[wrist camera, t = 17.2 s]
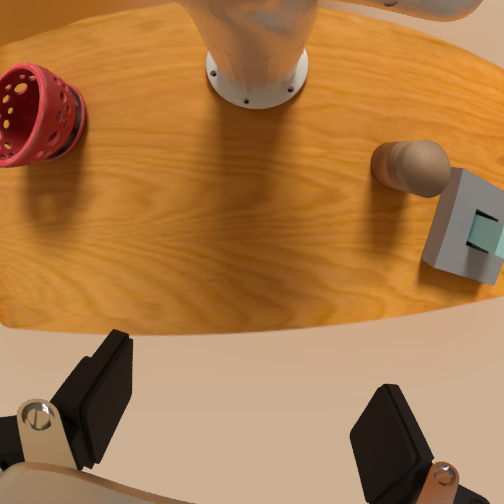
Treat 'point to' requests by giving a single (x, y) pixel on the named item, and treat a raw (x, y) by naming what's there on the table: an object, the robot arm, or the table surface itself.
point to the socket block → (464, 227)
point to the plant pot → (38, 116)
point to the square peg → (487, 235)
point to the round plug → (412, 167)
